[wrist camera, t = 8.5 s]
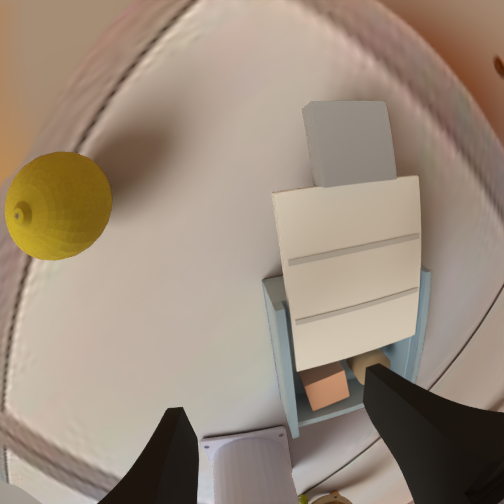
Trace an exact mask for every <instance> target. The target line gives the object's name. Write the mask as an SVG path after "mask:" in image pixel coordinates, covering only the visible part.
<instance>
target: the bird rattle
mask: <svg viewBox="0 0 504 504" xmlns="http://www.w3.org/2000/svg"><path fill="white" fill-rule="evenodd" d="M298 500H299V503H300V504H308V500H307V496H306V495H303V494H302V495H301V496H300V498H299V499H298ZM311 504H352V503H351V502H350V501H349V500H348V499H347V498H345V497H343V496H341V495H340V494H339V493H338V492H337V491H333V492H332V493H331V494H330V495H325V496H322V497H320V498H318V499H316V500H315V501H314V502H312V503H311Z"/></svg>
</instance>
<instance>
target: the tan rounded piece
mask: <svg viewBox="0 0 504 504" xmlns="http://www.w3.org/2000/svg"><path fill="white" fill-rule="evenodd" d="M346 361H347V364H348V366H349V367H350V369H351V370H352V372H353V373H354V375H355V376H356V378H357V379H358V381H359V382H360V383H361V384H362V385H364V382H365V371H366V367H369V366H372V365H374V364H377V363H380V364H382V365H384V366H385V367H387V368H389V369H390V366H391V362H390V359H389V358H388V357H387V356H386V355H385V354H384V353H383V351H382V350H381V349H380V348H377V349H374V350H371V351H368V352H365V353H362V354H359V355H355V356H352V357H349V358H346Z"/></svg>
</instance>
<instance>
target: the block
mask: <svg viewBox="0 0 504 504" xmlns="http://www.w3.org/2000/svg"><path fill="white" fill-rule="evenodd" d="M298 374H299V376H300V379H301V382H302V385H303V388H304V390H305V393H306V395H307V398H308V400H309V403H310V405H311V408H312V410H313V411H315V410H318V409H321V408H323V407H326V406H328V405H330V404H333V403H335V402H338V401H340V400H342V399H345V398H347V397H349V396H350V395H349V390H348V385H347V380H346V376H345V371H344V369H343V367H342V366H341V364H340V362H339V361H335V362H332V363H328V364H325V365H321V366H317V367H313V368H310V369H306V370H302V371H298Z"/></svg>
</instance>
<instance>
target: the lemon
mask: <svg viewBox="0 0 504 504" xmlns="http://www.w3.org/2000/svg"><path fill="white" fill-rule="evenodd" d="M111 209H112V194H111V188H110V185H109V182H108V180H107V177H106V175H105V174H104V172H103V171H102V170H101V168H100V167H99V166H98V165H97V164H96V163H94V162H93V161H92V160H91V159H89V158H87V157H85V156H82V155H80V154H77V153H73V152H54V153H50V154H47V155H43V156H40V157H38V158H36V159H34V160H33V161H31V162H30V163H28V164H27V165H25V166H24V167H23V168H22V169H21V170H20V172H19V173H18V174H17V175H16V176H15V178H14V179H13V181H12V183H11V185H10V187H9V190H8V193H7V197H6V203H5V219H6V224H7V227H8V230H9V232H10V235H11V237H12V239H13V240H14V241H15V243H16V244H17V245H18V247H19V248H20V249H22V250H23V251H24V252H25V253H27V254H28V255H30V256H33V257H35V258H38V259H41V260H61V259H65V258H69V257H72V256H75V255H77V254H79V253H81V252H82V251H84V250H85V249H87V248H89V247H90V246H91V245H92V244H93V243H94V242H95V241H96V240H97V239H98V238H99V237H100V235H101V234H102V232H103V231H104V229H105V227H106V225H107V223H108V221H109V217H110V213H111Z"/></svg>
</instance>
